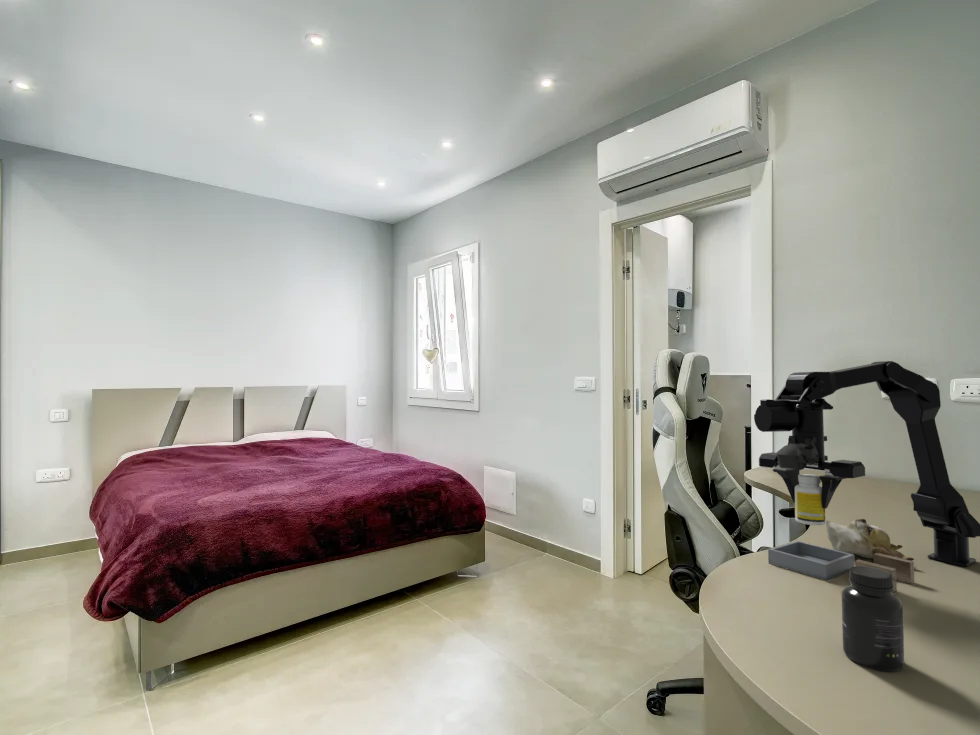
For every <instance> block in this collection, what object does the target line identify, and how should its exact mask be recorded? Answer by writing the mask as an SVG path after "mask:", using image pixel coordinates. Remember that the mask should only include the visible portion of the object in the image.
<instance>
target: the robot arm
mask: <svg viewBox="0 0 980 735" xmlns="http://www.w3.org/2000/svg"><path fill="white" fill-rule="evenodd" d="M871 383H876V386H877V388H878V390H879V391H881V393H884V395H886V396H887V397H888V399H889V402H890V403H891V406H892V407H893V410H894V412H896V413H897V414H898V415H899V417H901V418H902V420H904V423H905V426H906V430H907V434H908V437H909V441H910V447H911V450H912V455H913V459H914V463H915V466H916V467H915V468H916V470H917V475H918V480H919V484H920V485H919V486H918V489H917V490H916V492H912V493H911V494H910V498H911V500H912V503H913V504H912V505H913V508H912V510H913V511H914V512H916V513H917V516H918V517H919V520H920V521H921V525H922V526H923V527H925V528H930V529H933V530H932V532H933V553H930V554H928V555H927V558H928V559H931V560H936V561H939V562H945V563H948V564H952V565H958V566H962V567H968V566H970V565H972V564H973V563H976V562H977V559H976V558H973V557H970V538H971V539H972V538H973V539H975V538H976V537H980V522H979V521H978V520H977V519H976V518H975V517H974V516H973V515H972V514H971V513H970V512H969V509H968V506H967V503H966V502H965V500H964V497H963V495H961V493H959V492H958V490H957V489H956V488H955V487H954V486H953V485H952V483H951V482H950V476H949V473H948V472H949V471H948V469H947V465H946V460H945V457H944V452H943V447H942V444H941V439H940V436H939V432H938V428H937V423H936V417H937V415H938V412H939V410H940V409H941V394H940V389H939V385H937V384H936V383H934V382H933V381H931V380H930V379H929V380H928V379H927V378H925V377H924V376H923V375H921V374H918V373H916V372H914V371H912V370H910V369H906V368H905V367H904V366H902V365H901V364H899V363H897V362H895V361H893V360H887V361H886V360H885V361H874V362H871V363H867V364H863V365H862V364H861V365H858V366H857V365H856V366H852V367H847V368H843V369H837V370H833V371H807V372H806V371H803V372H802V371H800V372H793V373H790V374H789V375H788V377H787V378H786V380H785V385H784V386H783V387H782V389H781V390H780V392H779V394H778V395H777V396H776V398H775V399H763V398H762V399H760V401H759V402H760V405H759V406H757V408H756V409H755V413H754V414H753V419H754V420H753V421H754V423H755V426H756V428H757V430H759V431H760V432H763V433H771V432H772V433H773V432H779V433H782V432H783V433H784V432H791V435H789V436H788V443H787V445H784V446H783V447H781V448H780V449H779V450H777V452H775V451H773V452H765V453H761V454H760V456H759V457H758V466H759V467H762V468H768V469H769V468H770V469H771V468H772V471H773V472H774V473H777V474H778V475H779V476H780V478H782V480H783V482H784V483H785V486H786V488H787V491H788V493H789V495H790V498H791V501H792V503H793V504H795V486H796V485H799V484H800V482H798V481H799V480H798V475H799V474H800V471H803V470H804V469H809V470H817V471H822V472H823V471H824V474H822V475H818V476H819V477H820V481H821V482H820V483H821V487H822V508H823V509H825V510H826V509H828V507H829V505H830V502H831V500H832V499H833V497H834V494H835V492H836V490H837V488H838V487H839V485H840V484H841V482H842V481H843V480H846V479H856V478H860V477H861V478H862V477H866V467H865V466H864V464H863V462H861V461H859V460H858V461H857V460H847V459H840V460H839V459H838V460H833V461H832V460H831V461H830V462H829V461H828V460H829V459H828V458H829V457H828V455H825V442H827V441H828V435H825V432H824V431H825V430H824V410H825V411H826V410H827V411H828V410H830V411H831V410H833V409H834V406H833V405H832V404H830V403H828V401H826V399H825V398H827V397H828V396H831V395H833V394H835V392H836V391H839V390H841V389H845V388H850V387H855V386H860V385H861V386H862V385H865V384H871Z"/></svg>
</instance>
